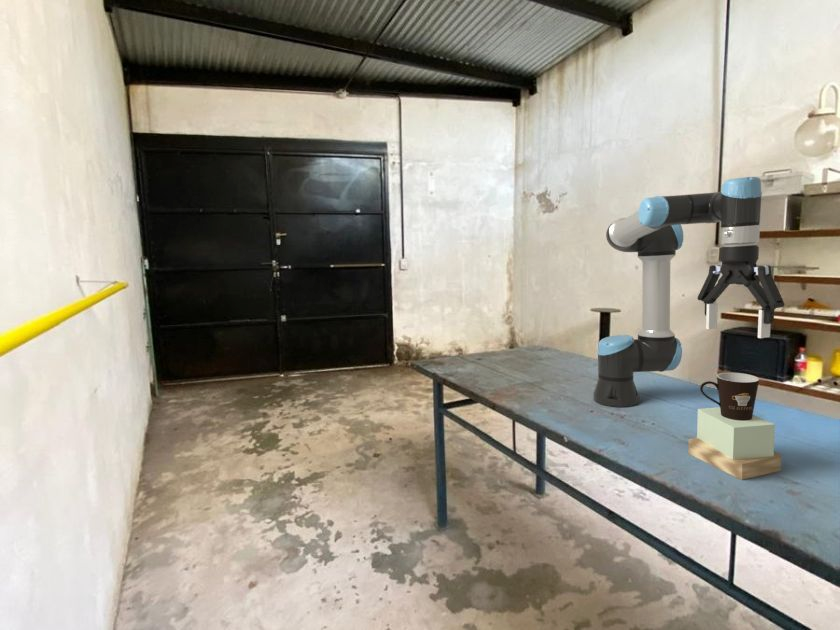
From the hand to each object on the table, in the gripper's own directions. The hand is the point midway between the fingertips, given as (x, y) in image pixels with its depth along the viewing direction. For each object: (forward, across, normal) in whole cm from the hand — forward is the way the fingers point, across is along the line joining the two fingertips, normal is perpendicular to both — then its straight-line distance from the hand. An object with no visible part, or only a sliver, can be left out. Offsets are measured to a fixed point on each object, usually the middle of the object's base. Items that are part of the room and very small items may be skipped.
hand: (736, 332), depth 110 cm
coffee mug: (+22, -1, 0) cm, 22 cm away
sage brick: (+29, 0, 0) cm, 29 cm away
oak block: (+33, 0, 0) cm, 33 cm away
